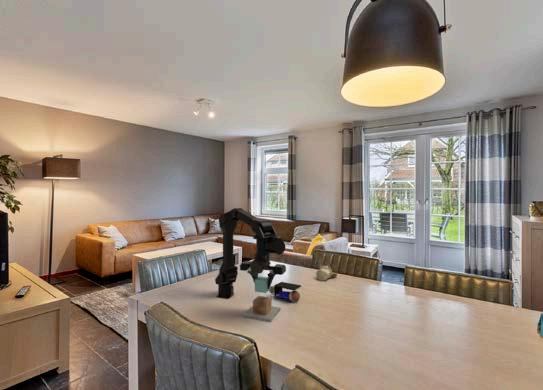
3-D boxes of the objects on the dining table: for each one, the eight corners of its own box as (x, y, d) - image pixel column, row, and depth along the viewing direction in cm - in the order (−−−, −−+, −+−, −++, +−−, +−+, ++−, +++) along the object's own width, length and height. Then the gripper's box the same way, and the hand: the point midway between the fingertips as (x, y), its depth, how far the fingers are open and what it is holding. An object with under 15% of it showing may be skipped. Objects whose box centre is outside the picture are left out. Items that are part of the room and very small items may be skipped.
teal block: (254, 291, 117) (254, 279, 117) (259, 287, 122) (259, 276, 122) (266, 293, 116) (266, 280, 116) (270, 289, 120) (270, 277, 120)
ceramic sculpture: (311, 264, 165) (322, 261, 177) (311, 279, 164) (321, 275, 177) (329, 267, 159) (339, 263, 171) (328, 283, 158) (338, 278, 171)
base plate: (243, 316, 115) (243, 314, 115) (254, 305, 127) (254, 303, 126) (271, 321, 111) (271, 319, 111) (280, 309, 122) (280, 307, 122)
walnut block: (252, 312, 117) (252, 300, 117) (258, 307, 123) (258, 295, 123) (266, 315, 115) (266, 302, 115) (271, 309, 121) (271, 297, 121)
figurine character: (268, 300, 137) (295, 304, 128) (267, 284, 137) (294, 287, 128) (276, 296, 142) (303, 300, 133) (275, 280, 143) (301, 283, 134)
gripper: (233, 252, 114) (233, 291, 114) (278, 256, 108) (277, 297, 108) (245, 247, 125) (245, 283, 125) (286, 251, 118) (286, 288, 118)
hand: (262, 288), depth 119 cm, fingers closed on teal block, 5 cm apart
